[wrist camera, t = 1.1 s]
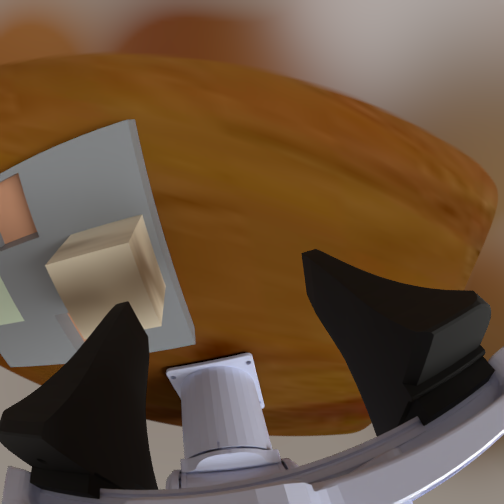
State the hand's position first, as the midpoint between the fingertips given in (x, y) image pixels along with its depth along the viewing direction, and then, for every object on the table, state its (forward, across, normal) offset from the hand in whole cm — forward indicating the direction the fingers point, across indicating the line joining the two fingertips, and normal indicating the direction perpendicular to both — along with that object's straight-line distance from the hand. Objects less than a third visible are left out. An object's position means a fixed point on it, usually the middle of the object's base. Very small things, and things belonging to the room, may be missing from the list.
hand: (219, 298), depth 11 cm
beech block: (+7, +6, 0) cm, 9 cm away
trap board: (+9, +13, 0) cm, 16 cm away
